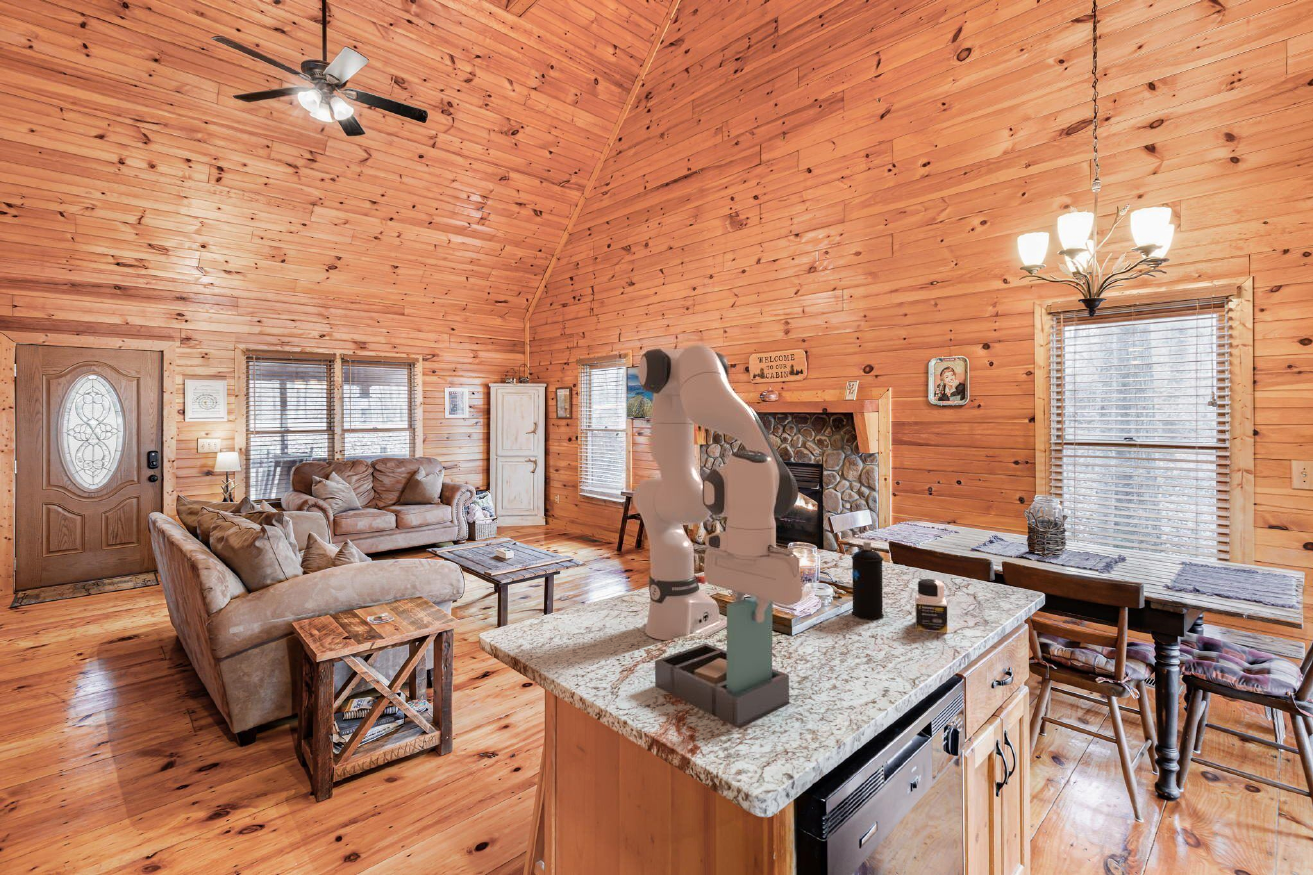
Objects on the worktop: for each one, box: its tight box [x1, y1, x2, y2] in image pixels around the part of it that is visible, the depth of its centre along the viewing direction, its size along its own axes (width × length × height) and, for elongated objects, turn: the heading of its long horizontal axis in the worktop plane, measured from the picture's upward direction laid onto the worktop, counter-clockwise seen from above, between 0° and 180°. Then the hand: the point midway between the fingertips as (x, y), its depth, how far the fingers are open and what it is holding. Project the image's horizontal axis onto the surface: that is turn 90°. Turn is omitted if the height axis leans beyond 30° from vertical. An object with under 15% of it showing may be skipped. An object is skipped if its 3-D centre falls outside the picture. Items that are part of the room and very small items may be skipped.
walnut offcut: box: [694, 658, 727, 685], centre depth 113 cm, size 8×5×2 cm, turn 138°
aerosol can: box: [851, 541, 885, 621], centre depth 163 cm, size 8×8×20 cm
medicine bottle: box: [914, 578, 948, 634], centre depth 153 cm, size 7×7×12 cm
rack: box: [654, 643, 792, 730], centre depth 113 cm, size 14×22×6 cm, turn 40°
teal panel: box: [726, 596, 774, 694], centre depth 107 cm, size 10×2×16 cm, turn 130°
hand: (750, 618), depth 107 cm, fingers closed on teal panel, 2 cm apart
